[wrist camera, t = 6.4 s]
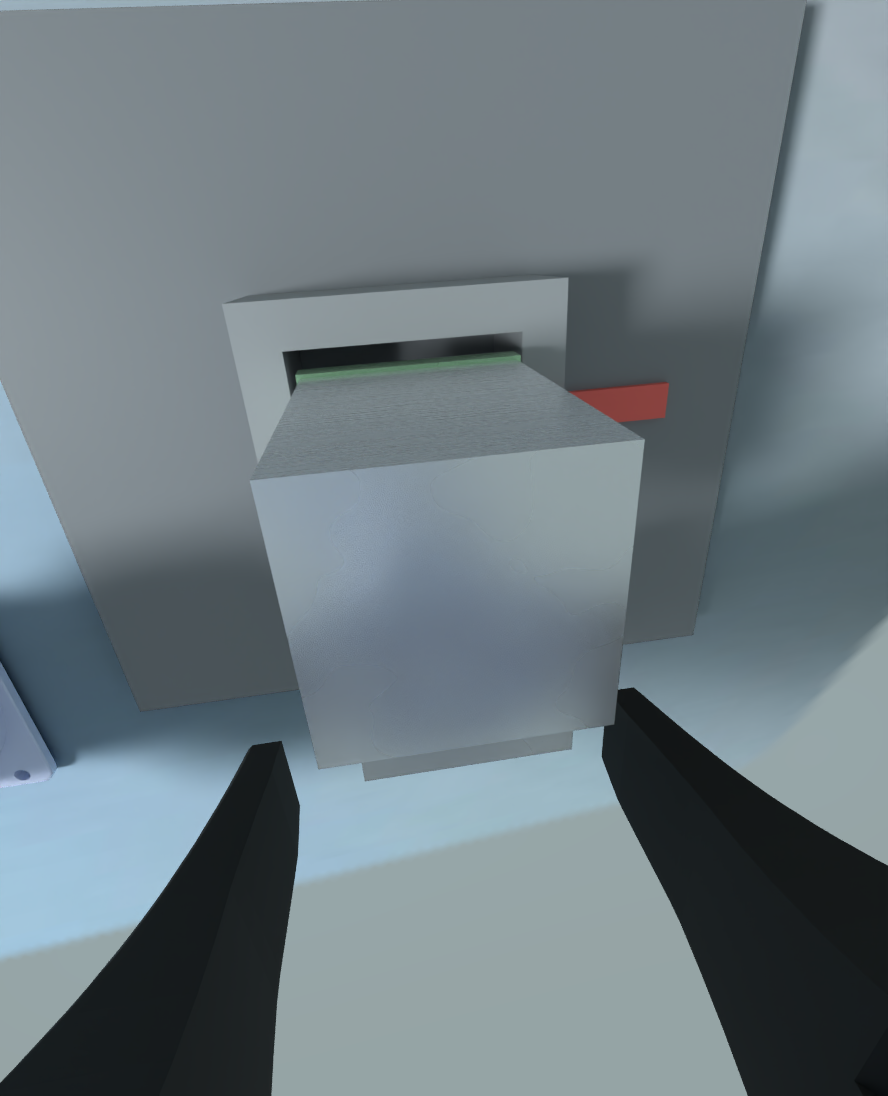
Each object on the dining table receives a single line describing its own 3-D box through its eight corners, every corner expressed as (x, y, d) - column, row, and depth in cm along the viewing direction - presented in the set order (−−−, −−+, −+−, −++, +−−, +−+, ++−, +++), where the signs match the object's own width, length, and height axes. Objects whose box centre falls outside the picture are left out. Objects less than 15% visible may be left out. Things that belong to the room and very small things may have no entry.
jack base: (149, 691, 20) (101, 792, 16) (-115, 33, 12) (-343, -76, 8) (679, 619, 22) (746, 695, 18) (779, 6, 13) (944, -94, 10)
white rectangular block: (335, 566, 14) (319, 793, 8) (300, 365, 12) (240, 474, 6) (509, 545, 15) (616, 747, 9) (507, 347, 12) (652, 432, 6)
